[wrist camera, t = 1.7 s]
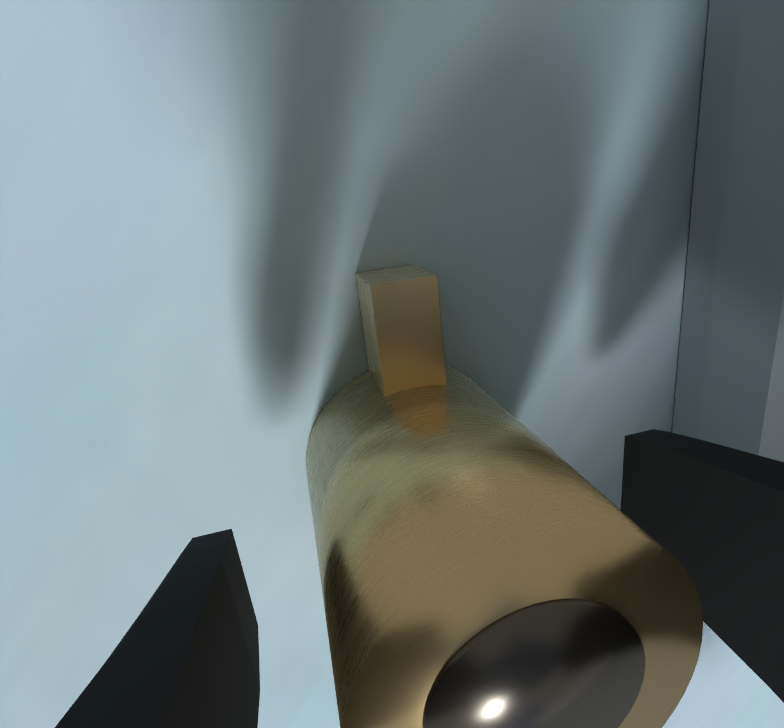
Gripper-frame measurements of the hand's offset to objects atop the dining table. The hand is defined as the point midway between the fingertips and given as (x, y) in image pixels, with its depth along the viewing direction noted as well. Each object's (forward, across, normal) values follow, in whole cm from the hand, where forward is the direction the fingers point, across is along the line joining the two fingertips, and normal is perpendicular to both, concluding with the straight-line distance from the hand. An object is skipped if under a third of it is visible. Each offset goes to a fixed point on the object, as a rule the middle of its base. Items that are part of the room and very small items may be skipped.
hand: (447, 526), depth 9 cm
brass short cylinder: (+3, 0, 0) cm, 3 cm away
